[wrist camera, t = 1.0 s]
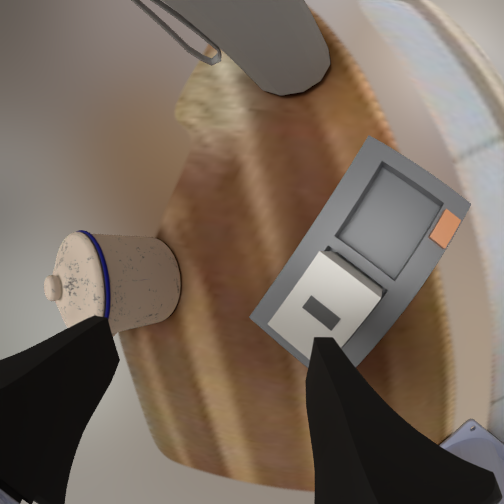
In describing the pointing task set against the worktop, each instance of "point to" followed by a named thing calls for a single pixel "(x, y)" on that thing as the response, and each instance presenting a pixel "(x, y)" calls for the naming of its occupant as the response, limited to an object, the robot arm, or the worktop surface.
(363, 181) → the grey divided tray
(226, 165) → the worktop surface
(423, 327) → the worktop surface
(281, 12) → the water bottle
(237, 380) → the worktop surface
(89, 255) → the teacup with lid
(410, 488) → the robot arm
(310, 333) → the block
